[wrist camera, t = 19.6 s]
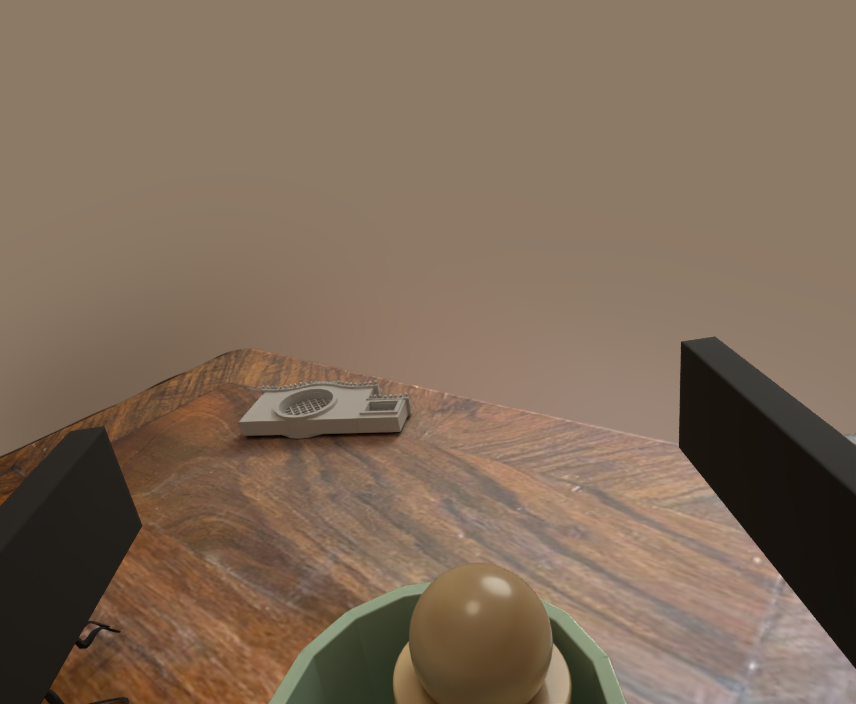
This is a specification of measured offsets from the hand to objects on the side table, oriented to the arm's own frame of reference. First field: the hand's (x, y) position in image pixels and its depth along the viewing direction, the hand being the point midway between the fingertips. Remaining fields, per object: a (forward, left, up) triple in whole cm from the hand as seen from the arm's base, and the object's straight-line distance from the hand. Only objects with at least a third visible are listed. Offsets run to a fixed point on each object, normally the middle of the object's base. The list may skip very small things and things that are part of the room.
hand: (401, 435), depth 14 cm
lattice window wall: (+12, +23, -13) cm, 29 cm away
